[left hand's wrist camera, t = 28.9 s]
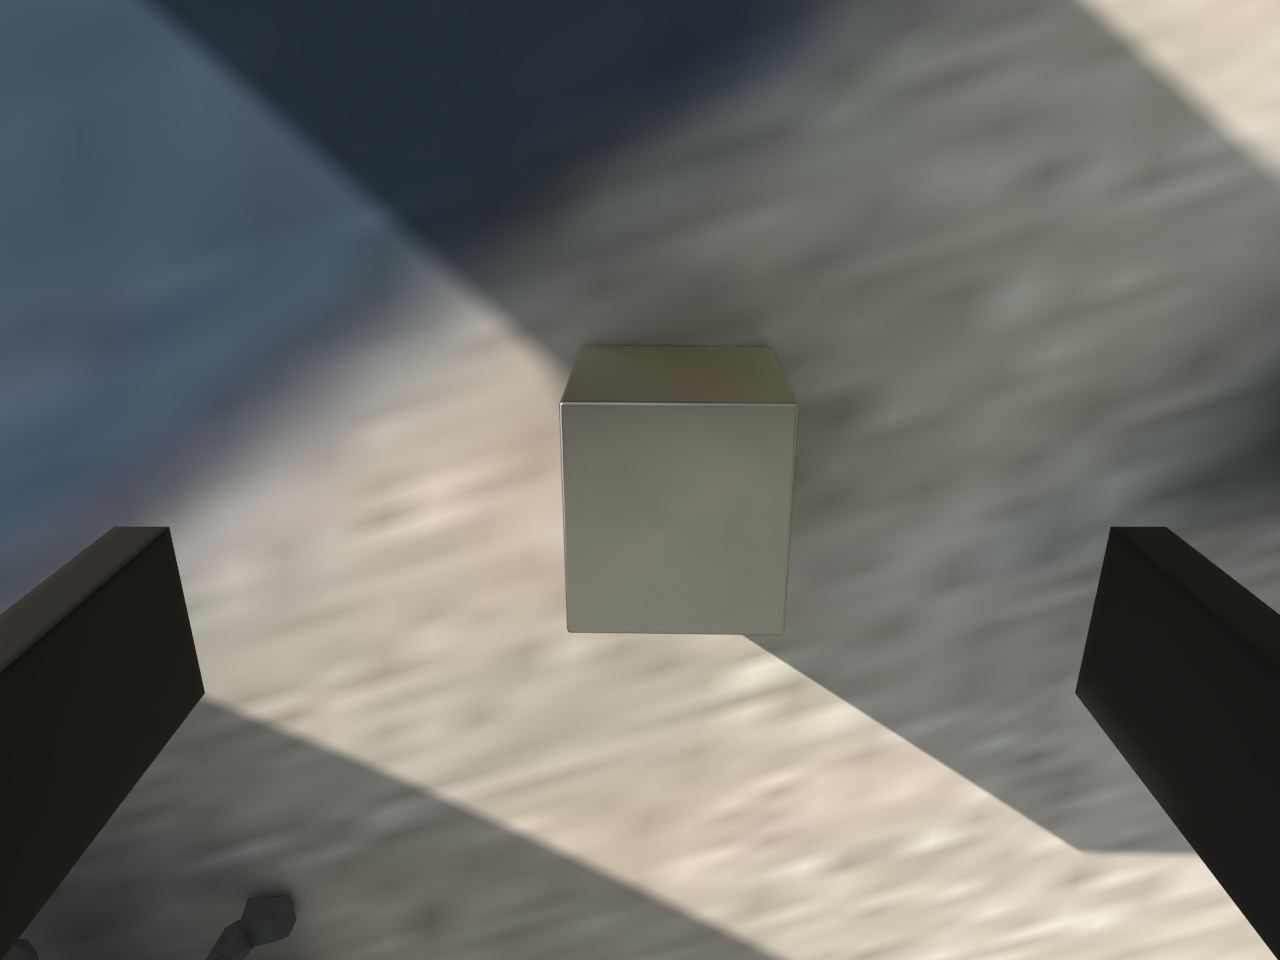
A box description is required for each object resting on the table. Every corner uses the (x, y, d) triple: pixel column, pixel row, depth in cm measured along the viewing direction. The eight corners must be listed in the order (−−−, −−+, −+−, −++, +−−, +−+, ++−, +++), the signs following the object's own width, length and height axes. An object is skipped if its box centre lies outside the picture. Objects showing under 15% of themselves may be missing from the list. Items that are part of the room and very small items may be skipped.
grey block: (771, 346, 19) (799, 403, 15) (761, 538, 21) (784, 636, 17) (581, 345, 19) (558, 402, 15) (585, 536, 21) (567, 634, 17)
